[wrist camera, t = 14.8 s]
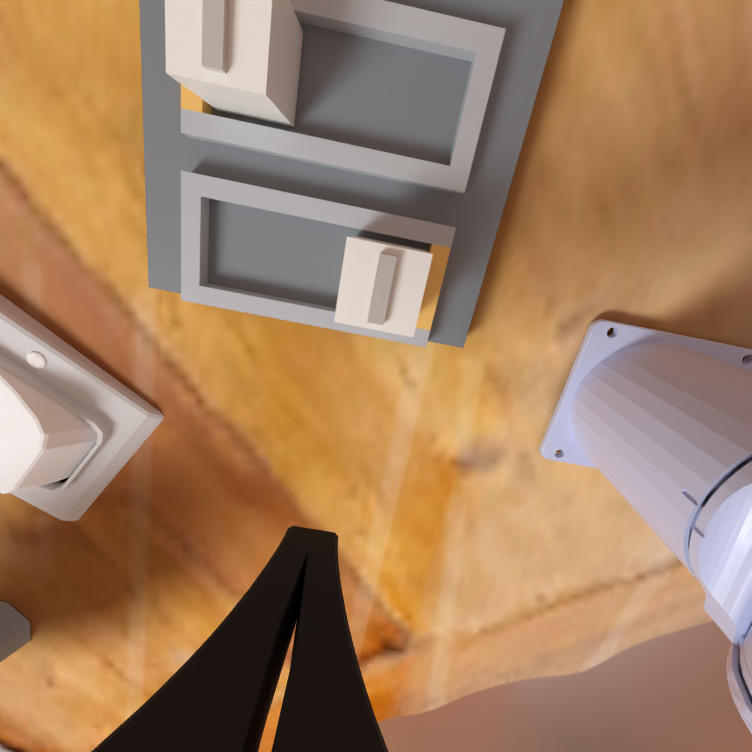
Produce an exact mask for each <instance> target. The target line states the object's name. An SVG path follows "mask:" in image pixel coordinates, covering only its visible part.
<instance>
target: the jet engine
mask: <svg viewBox="0 0 752 752" xmlns="http://www.w3.org/2000/svg"><path fill="white" fill-rule="evenodd" d="M30 640H31V633H30V621H29V620H28V619H26V618H25V617H24V616H23V615H22V614H20V613H19V612H18V611H17V610H16V609H15V608H13V607H12V606H11V605H10V604H9V603H6V602H2V601H0V662H1V661H2V660H4V659H5V658H7V657H8V656H9V655H11V654H12V653H14V652H15V651H16V650H18V649H19V648H21V647H22V646H23V645H25V644H26V643H28V642H29V641H30Z"/></svg>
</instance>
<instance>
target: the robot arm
mask: <svg viewBox="0 0 752 752" xmlns="http://www.w3.org/2000/svg"><path fill="white" fill-rule="evenodd" d="M612 327H613V332H612V334H611V335H609V336H607V331H608V330H609V329H610V328H612ZM745 356H746V358H745V359H744V360H743V361H742V359H743V358H744V357H745ZM557 450H561V451H560V453H558V454H555V452H556V451H557ZM539 451H540V453H541V455H542V456H543V457H544V458H546V459H549V460H555V461H560V462H566V463H571V464H577V465H582V466H588V467H593V468H598V469H599V470H600V472H601V473H602V474H603V475H604V476H605V477H606V478H607V479H608V481H609V482H610V483H611V484H612V485H613V486H614V487H615V488H616V489H617V491H618V492H619V493H620V494H621V495H622V496H623V497H624V498H625V500H626V501H627V502H628V503H629V504H630V505H631V506H632V507H633V508H634V510H635V511H636V512H637V513H638V514H639V515H640V516H641V517H642V519H643V520H644V521H645V522H646V523H647V524H648V525H649V526H650V527H651V529H652V530H653V531H654V532H655V533H656V534H657V535H658V536H659V538H660V539H661V540H662V541H663V542H664V543H665V544H666V545H667V546H668V548H669V549H670V550H671V551H672V552H673V553H674V554H675V555H676V557H677V558H678V559H679V560H680V561H681V562H682V563H683V564H684V565H685V567H686V568H687V569H688V570H689V571H690V572H691V573H692V574H693V576H694V577H695V578H696V579H697V580H698V581H699V582H700V583H701V585H702V586H703V588H704V590H705V594H706V601H705V604H704V610H705V611H706V612H707V613H708V614H709V616H710V617H711V618H712V619H713V620H714V622H715V623H716V624H717V625H718V626H719V627H720V629H721V630H722V631H723V632H724V633H725V635H726V636H727V637H728V638H729V639H730V640H731V642H732V643H733V644H732V646H731V648H730V650H729V653H728V657H727V662H726V668H727V679H728V684H729V687H730V691H731V694H732V697H733V700H734V701H735V704H736V706H737V708H738V711H739V713H740V715H741V717H742V719H743V720H744V722H745V724H746V725H747V727H748V728H749V730H750V732H751V733H752V349H750V348H745V347H740V346H735V345H730V344H725V343H720V342H715V341H710V340H705V339H700V338H695V337H690V336H685V335H680V334H675V333H670V332H665V331H660V330H655V329H650V328H645V327H640V326H635V325H630V324H625V323H620V322H615V321H610V320H605V319H598V320H595V321H594V322H592V323H591V325H590V326H589V328H588V331H587V333H586V336H585V338H584V340H583V343H582V345H581V348H580V350H579V353H578V355H577V358H576V360H575V362H574V365H573V367H572V370H571V372H570V375H569V377H568V379H567V382H566V384H565V387H564V389H563V392H562V394H561V397H560V399H559V401H558V404H557V406H556V409H555V411H554V414H553V416H552V418H551V421H550V423H549V426H548V428H547V431H546V433H545V436H544V438H543V440H542V443H541V445H540V449H539ZM296 621H297V622H296ZM295 624H296V629H295V637H294V644H293V651H292V659H291V666H290V672H289V677H288V681H287V686H286V690H285V695H284V699H283V703H282V708H281V712H280V717H279V721H278V725H277V730H276V734H275V739H274V743H273V747H272V752H388V750H387V747H386V744H385V742H384V739H383V736H382V734H381V731H380V728H379V726H378V723H377V720H376V718H375V715H374V712H373V709H372V706H371V703H370V700H369V697H368V694H367V691H366V688H365V684H364V681H363V678H362V674H361V671H360V668H359V664H358V661H357V657H356V653H355V649H354V646H353V642H352V637H351V633H350V629H349V625H348V620H347V615H346V611H345V605H344V599H343V594H342V588H341V581H340V573H339V564H338V536H337V535H336V533H333V532H327V531H321V530H315V529H309V528H303V527H297V526H292V527H290V528H288V530H287V532H286V534H285V536H284V538H283V540H282V541H281V543H280V545H279V546H278V548H277V550H276V551H275V553H274V554H273V556H272V557H271V559H270V560H269V562H268V563H267V565H266V566H265V568H264V569H263V571H262V572H261V573H260V575H259V576H258V577H257V579H256V580H255V582H254V583H253V584H252V586H251V587H250V588H249V590H248V591H247V592H246V594H245V595H244V596H243V597H242V599H241V600H240V601H239V602H238V603H237V605H236V606H235V607H234V608H233V610H232V611H231V612H230V613H229V615H228V616H227V617H226V618H225V619H224V621H223V622H222V623H221V624H220V625H219V626H218V628H217V629H216V630H215V631H214V632H213V633H212V635H211V636H210V637H209V638H208V639H207V640H206V641H205V642H204V643H203V644H202V646H201V647H200V648H199V649H198V650H197V651H196V652H195V653H194V654H193V655H192V656H191V657H190V658H189V660H188V661H187V662H186V663H185V664H184V665H183V666H182V667H181V668H180V669H179V670H178V671H177V672H176V673H175V674H174V675H173V676H172V677H171V678H170V679H169V680H168V681H167V682H166V683H165V684H164V685H163V686H162V687H161V688H160V689H159V690H158V691H157V692H156V693H155V694H154V695H153V696H152V697H151V698H150V699H149V700H148V701H146V702H145V703H144V704H143V705H142V706H141V707H140V708H139V709H138V710H137V711H136V712H135V713H134V714H132V715H131V716H130V717H129V718H128V719H127V720H126V721H125V722H124V723H123V724H121V725H120V726H119V727H118V728H117V729H116V730H115V731H114V732H113V733H112V734H110V735H109V736H108V737H107V738H106V739H105V740H104V741H103V742H102V743H100V744H99V745H98V746H97V747H96V748H95V749H94V750H93V751H92V752H258V750H259V746H260V742H261V738H262V734H263V730H264V727H265V723H266V719H267V716H268V713H269V709H270V706H271V703H272V700H273V696H274V693H275V690H276V687H277V683H278V680H279V677H280V673H281V670H282V667H283V664H284V660H285V657H286V654H287V651H288V647H289V644H290V641H291V638H292V634H293V631H294V628H295Z"/></svg>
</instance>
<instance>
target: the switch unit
mask: <svg viewBox="0 0 752 752" xmlns="http://www.w3.org/2000/svg"><path fill="white" fill-rule="evenodd" d="M290 2H291V5H292V7H293V9H294V12H295V14H296V17H297V19H298V21H299V24H300V26H301V29H302V31H303V39H302V50H301V61H300V71H299V82H298V92H297V103H296V114H295V124H294V127H291V126H286V125H282V124H277V123H273V122H268V121H263V120H259V119H254V118H249V117H245V116H240V115H236V114H231V113H226V112H222V111H218V110H216V109H215V108H214V107H212V106H211V105H210V104H208V103H207V102H205V101H204V100H203V99H201V98H200V97H199V96H197V95H196V94H194V93H193V92H192V91H190V90H189V89H187V88H186V87H185V86H183V85H182V84H181V83H179V82H178V81H176V80H175V79H174V78H172V77H171V76H169V75H168V74H167V73H166V51H165V0H139V3H140V34H141V64H142V95H143V126H144V156H145V187H146V218H147V248H148V279H149V287H151V288H156V289H161V290H166V291H172V292H177V293H181V300H183V301H188V302H193V303H199V304H204V305H209V306H214V307H219V308H225V309H230V310H235V311H240V312H245V313H251V314H256V315H261V316H266V317H271V318H277V319H282V320H287V321H292V322H297V323H302V324H308V325H313V326H318V327H323V328H328V329H334V330H339V331H344V332H349V333H354V334H360V335H365V336H370V337H375V338H380V339H386V340H391V341H396V342H401V343H406V344H411V345H417V346H422V347H426V345H427V341H430V342H435V343H440V344H446V345H451V346H456V347H461V348H463V347H464V344H465V340H466V337H467V334H468V330H469V327H470V323H471V320H472V316H473V313H474V309H475V306H476V302H477V299H478V296H479V292H480V289H481V285H482V282H483V278H484V275H485V271H486V268H487V264H488V261H489V258H490V254H491V251H492V247H493V244H494V240H495V237H496V233H497V230H498V227H499V223H500V220H501V216H502V213H503V209H504V206H505V202H506V199H507V195H508V192H509V189H510V185H511V182H512V178H513V175H514V171H515V168H516V164H517V161H518V157H519V154H520V151H521V147H522V144H523V140H524V137H525V133H526V130H527V126H528V123H529V119H530V116H531V113H532V109H533V106H534V102H535V99H536V95H537V92H538V88H539V85H540V81H541V78H542V75H543V71H544V68H545V64H546V61H547V57H548V54H549V50H550V47H551V44H552V40H553V37H554V33H555V30H556V26H557V23H558V19H559V16H560V12H561V9H562V6H563V2H564V0H290ZM348 236H359V237H364V238H369V239H374V240H379V241H384V242H388V243H393V244H398V245H403V246H408V247H413V248H418V249H423V250H425V251H427V252H429V253H431V254H433V257H432V261H431V265H430V269H429V274H428V278H427V282H426V286H425V290H424V295H423V299H422V303H421V307H420V312H419V316H418V320H417V324H416V329H415V333H414V337H409V336H403V335H398V334H393V333H388V332H383V331H378V330H372V329H367V328H362V327H357V326H352V325H347V324H341V323H336V322H334V318H335V312H336V305H337V298H338V292H339V285H340V279H341V272H342V265H343V259H344V252H345V246H346V239H347V237H348Z"/></svg>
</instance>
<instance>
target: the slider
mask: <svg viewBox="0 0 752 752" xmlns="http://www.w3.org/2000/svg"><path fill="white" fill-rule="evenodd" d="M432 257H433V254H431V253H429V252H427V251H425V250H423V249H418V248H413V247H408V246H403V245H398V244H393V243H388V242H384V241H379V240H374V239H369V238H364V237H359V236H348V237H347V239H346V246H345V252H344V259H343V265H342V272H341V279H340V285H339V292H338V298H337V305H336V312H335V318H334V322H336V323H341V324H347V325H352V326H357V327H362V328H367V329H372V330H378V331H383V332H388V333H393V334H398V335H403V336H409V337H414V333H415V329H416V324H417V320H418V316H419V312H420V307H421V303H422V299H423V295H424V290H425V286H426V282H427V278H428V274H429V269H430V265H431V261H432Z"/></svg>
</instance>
